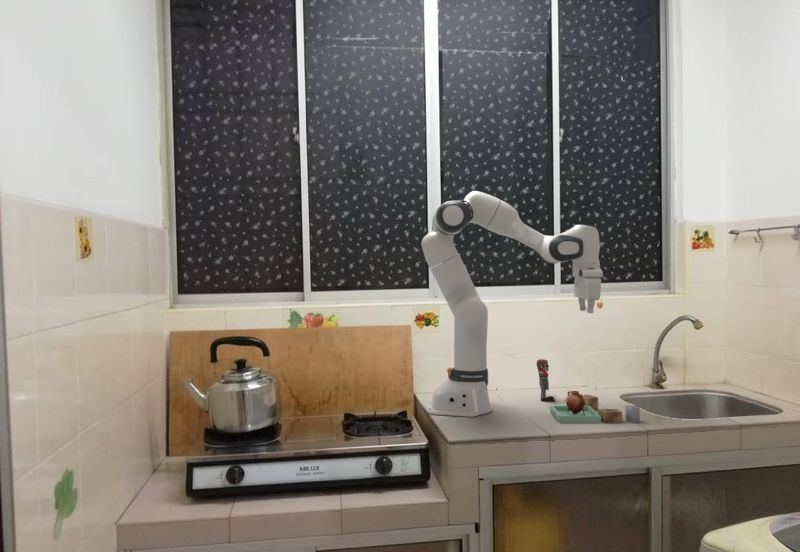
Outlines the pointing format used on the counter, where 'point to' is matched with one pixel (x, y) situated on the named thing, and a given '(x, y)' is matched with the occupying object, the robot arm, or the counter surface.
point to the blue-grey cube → (633, 414)
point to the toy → (544, 380)
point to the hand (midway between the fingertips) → (586, 311)
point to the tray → (568, 417)
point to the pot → (575, 402)
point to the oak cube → (591, 401)
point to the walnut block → (610, 415)
